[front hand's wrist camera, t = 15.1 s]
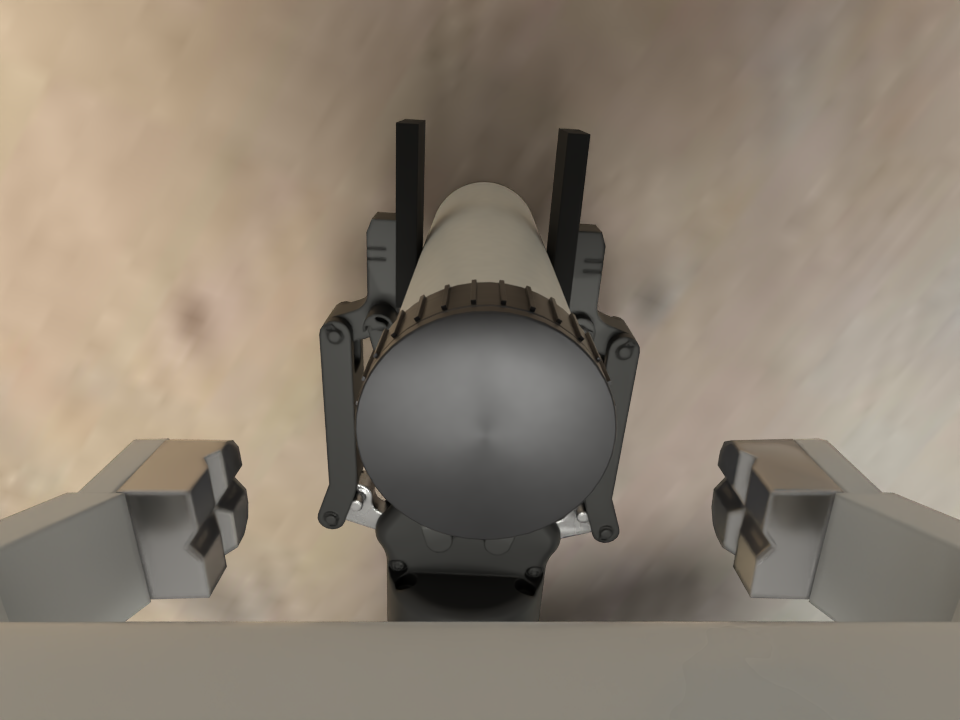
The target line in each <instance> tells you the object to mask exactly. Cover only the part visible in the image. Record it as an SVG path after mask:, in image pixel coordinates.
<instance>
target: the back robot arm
mask: <svg viewBox="0 0 960 720" xmlns="http://www.w3.org/2000/svg"><path fill="white" fill-rule="evenodd" d="M589 141H590V134H588V133H586V132H583V131H581V130H576V129H560V128H559V133H558V143H557V153H556V163H555V173H554V183H553V193H552V203H551V213H550V223H549V233H548V242H547V254H548V257H549V259H550V262H551V264H552V267H553V269H554V272H555V274H556V277H557V279H558V282H559V284H560V287H561V290H562V292H563V295H564V297H565V300H566V302H567V305H568V307H569V310H570V312H571V313H573V314H574V315H575V316H576V319H577V321H578V324H579V326H580V327H581V328H582V330H583V331H584V333H587V332H589V334H590V335H591V338H592V340H593V342H594V344H595V347H596V349H597V351H598V354H599V355H600V357H601V359H602V361H603V364H604V366H605V368H606V370H607V373H608V375H609V377H610V379H611V382H612V385H609V387H610V390H611V392H612V395H613V399H614V401H615V404H616V418H617V431H616V441H615V446H614V450H613V454H612V457H611V459H610V462H609V465H608V467H607V469H606V471H605V473H604V475H603V477H602V479H601V480H600V482H599V483H598V485H597V486H596V487H595V489H594V490H593V491H592V493H591V494H590V495H589V496H588V497H587V498H586V499H585V500H584V501H583V502H582V503H581V504H580V505H579V506H578V507H577V508H575V509H574V510H573V511H572V512H570V513H569V514H568V515H566V516H565V517H563V518H561V519H560V520H558V521H557V522H555V523H553V524H551V525H549V526H547V527H545V528H542V529H540V530H537V531H534V532H531V533H529V534H525V535H521V536H516V537H512V538H504V539H494V540H478V539H466V538H460V537H455V536H450V535H447V534H443V533H440V532H437V531H434V530H432V529H429V528H427V527H425V526H422V525H420V524H419V523H417V522H415V521H413V520H412V519H410V518H408V517H407V516H405V515H404V514H403V513H401V512H400V511H398V510H397V509H396V508H395V507H394V506H392V505H391V504H390V503H389V502H388V501H387V500H385V501H384V500H381V499H380V498H379V497H378V496H377V495H376V492H375V486H374V484H373V482H372V481H371V479H370V477H369V476H368V474H367V472H366V471H363V467H364V465H363V463H362V461H361V458H360V455H359V451H358V447H357V443H356V435H355V414H356V408H357V405H355V404H356V399H357V397H358V394H359V392H360V389H361V387H362V385H363V382H364V381H362V380H361V378H362V376H363V373H364V366H363V339H365V338H368V337H370V340H371V343H372V347H373V350H376V347H377V345H378V342H379V340H380V338H381V335H382V333H383V331H384V329H385V328H386V329H387V330H389V329H390V327H391V326H392V324H393V323H394V322H395V321H396V320H397V317H398V314H399V312H400V309H401V306H402V304H403V301H404V298H405V296H406V293H407V290H408V288H409V285H410V282H411V279H412V277H413V274H414V271H415V269H416V266H417V263H418V261H419V258H420V255H421V252H422V250H423V211H424V162H425V120H411V119H404V120H402V121H399V122H397V123H396V213H386V212H377V214H376V215H375V216H374V217H373V218H372V220H371V222H370V225H369V228H368V230H367V291H368V293H367V296H366V297H365V298H363V299H361V300H357V301H354V302H347V301H346V302H341V303H339V304H338V305H336V307H335V308H334V310H333V311H332V312H331V314H330V315H329V317H328V318H327V320H326V321H325V323H324V325H323V326H322V328H321V329H320V334H319V337H320V352H321V367H322V382H323V397H324V412H325V427H326V442H327V457H328V472H329V486H328V489H327V492H326V494H325V497H324V500H323V502H322V505H321V508H320V510H319V513H318V520H319V523H320V524H321V525H322V526H324V527H326V528H328V529H337V528H339V527H341V526H342V525H343V524H344V522H345V520H348V521H351V522H355V523H358V524H361V525H364V526H367V527H370V528H373V529H375V531H376V536H377V539H378V541H379V543H380V544H381V545H382V547H383V548H384V550H385V552H386V556H387V618H388V622H539V614H540V606H541V598H542V591H543V583H544V575H545V567H546V563H547V561H548V559H549V558H550V556H551V555H552V554H553V553H554V552H555V550H556V549H557V547H558V546H559V543H560V539H561V538H566V537H570V536H575V535H579V534H584V533H588V532H592V535H593V537H594V539H596V540H597V541H599V542H603V543H606V542H611V541H613V540H614V539H616V538H617V536H618V534H619V526H618V522H617V518H616V514H615V509H614V505H613V501H612V496H613V491H614V485H615V480H616V475H617V469H618V464H619V459H620V454H621V448H622V443H623V438H624V433H625V427H626V422H627V417H628V411H629V406H630V401H631V396H632V390H633V385H634V380H635V375H636V369H637V364H638V359H639V354H640V347H639V345H638V343H637V341H636V340H635V338H634V336H633V335H632V333H631V331H630V330H629V328H628V326H627V325H626V323H625V322H624V321H623V320H622V319H621V318H619V317H615V316H614V317H610V316H607V315H605V314H603V313H601V312H599V311H598V310H597V304H598V296H599V289H600V282H601V275H602V267H603V260H604V253H605V243H604V239H603V235H602V232H601V231H600V230H599V228H598V227H597V226H596V225H590V224H580V216H581V208H582V200H583V191H584V183H585V175H586V166H587V158H588V150H589Z"/></svg>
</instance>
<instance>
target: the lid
mask: <svg viewBox="0 0 960 720" xmlns="http://www.w3.org/2000/svg"><path fill="white" fill-rule="evenodd" d="M361 380H362V381H364V382H363V385H362V387H361V389H360V392H359V394H358V397H357V399H356V404H355V405H357V408H356V414H355V435H356V443H357V447H358V451H359V455H360V458H361V461H362V463H363V465H364V468H365V470H366V472H367V474H368V476H369V477H370V479H371V481H372V482H373V484H374V486H375V487H376V488H377V489H378V491H379V492H380V493H381V494H382V496H383V497H384V498H385V499H386V500H387V501H388V502H389V503H390V504H391V505H392V506H394V507H395V508H396V509H397V510H398V511H400V512H401V513H403V514H404V515H405V516H407V517H408V518H410V519H412V520H413V521H415V522H417V523H419V524H420V525H422V526H425V527H427V528H429V529H432V530H434V531H437V532H440V533H443V534H447V535H450V536H455V537H460V538H466V539H478V540H494V539H504V538H512V537H516V536H521V535H525V534H529V533H531V532H534V531H537V530H540V529H542V528H545V527H547V526H549V525H551V524H553V523H555V522H557V521H558V520H560V519H561V518H563V517H565V516H566V515H568V514H569V513H570V512H572V511H573V510H574V509H575V508H577V507H578V506H579V505H580V504H581V503H582V502H583V501H584V500H585V499H586V498H587V497H588V496H589V495H590V494H591V493H592V491H593V490H594V489H595V487H596V486H597V485H598V483H599V482H600V480H601V479H602V477H603V475H604V473H605V471H606V469H607V467H608V465H609V462H610V459H611V457H612V454H613V450H614V446H615V441H616V431H617V418H616V404H615V401H614V399H613V395H612V392H611V390H610V387H609V385H612V382H611V379H610V377H609V375H608V373H607V370H606V368H605V366H604V364H603V361H602V359H601V357H600V355H599V354H598V351H597V349H596V347H595V344H594V342H593V340H592V338H591V335H590V334H589V332H587V333H584V331H583V330H582V328H581V327H580V326H579V324H578V321H577V319H576V316H575V315H574V314H573V313H571V314H570V315H569V314H568V313H567V312H566V311H565V310H564V309H563V308H561V307H560V306H558V305H557V304H556V301H555V299H554V298H553V297H550V299H548V298H546V297H544V296H542V295H540V294H538V293H536V292H534V291H532V290H531V287H529V286H526V288H523V287H519V286H515V285H510V284H506V283H505V282H504V280H499V283H495V282H477V280H476V279H474V280H472V282H471V283H467V284H461V285H456V286H453V287H450V285H449V284H448V285H445V287H444V289H442V290H440V291H438V292H435V293H433V294H431V295H429V296H427V297H426V296H425V295H422V296H420V299H419V302H417V303H415V304H414V305H413V306H411V307H410V308H409V309H408V310H406V311H404V310H401V311H400V312H399V314H398V317H397V320H396V321H395V322H394V323H393V324H392V326H391V327H390V329H389V330H387V329H386V328H385V329H384V331H383V333H382V335H381V338H380V340H379V342H378V345H377V347H376V350H373V352H372V354H371V357H370V359H369V361H368V364H367V366H366V369H365V371H364V373H363V376H362V378H361Z"/></svg>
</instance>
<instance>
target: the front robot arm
mask: <svg viewBox="0 0 960 720" xmlns="http://www.w3.org/2000/svg"><path fill="white" fill-rule="evenodd" d="M241 466H242V461H241V456H240V451H239V447H238V446H237V444H236V443H235V442H234V441H233V440H193V439H168V438H164V439H139V440H133V441H132V442H131V443H130V444H129V445H128V446H127V447H126V448H125V449H124V450H123V451H122V452H120V453H119V454H118V455H117V456H116V457H115V458H114V459H113V460H112V461H111V462H110V463H109V464H108V465H107V466H106V467H104V468H103V469H102V470H101V471H100V472H99V473H98V474H97V475H96V476H95V477H94V478H93V479H92V480H91V481H90V482H88V483H87V484H86V485H85V486H84V487H83V488H82V489H81V490H80V491H79V492H78V493H65V494H63V495H60V496H58V497H55V498H53V499H51V500H48V501H46V502H43V503H41V504H38V505H36V506H33V507H31V508H28V509H26V510H24V511H21V512H19V513H16V514H14V515H11V516H9V517H6V518H4V519H2V520H0V720H960V520H958V519H956V518H953V517H951V516H949V515H946V514H944V513H941V512H939V511H936V510H934V509H931V508H929V507H927V506H924V505H922V504H919V503H917V502H914V501H912V500H909V499H907V498H905V497H902V496H900V495H897V494H895V493H882V492H881V491H880V490H879V489H878V488H877V487H876V486H875V485H874V484H873V483H872V482H871V481H869V480H868V479H867V478H866V477H865V476H864V475H863V474H862V473H861V472H860V471H859V470H858V469H857V468H856V467H855V466H854V465H852V464H851V463H850V462H849V461H848V460H847V459H846V458H845V457H844V456H843V455H842V454H841V453H840V452H839V451H838V450H837V449H835V448H834V447H833V446H832V445H831V444H830V443H829V442H828V441H826V440H823V439H820V438H814V439H770V440H731V441H726V442H724V444H723V446H722V448H721V450H720V455H719V461H718V466H719V468H720V469H721V471H722V472H723V474H724V476H725V478H724V479H723V480H722V481H721V482H720V483H719V484H718V485H717V486H716V487H715V488H714V492H713V500H712V518H713V526H714V529H715V533H716V536H717V538H718V540H719V542H720V544H721V545H722V547H723V548H724V549H726V550H728V551H729V552H731V553H732V554H734V555H735V559H734V565H733V567H734V569H735V571H736V572H737V574H738V576H739V578H740V580H741V581H742V583H743V585H744V587H745V588H746V590H747V592H748V594H749V595H750V597H751V598H782V599H809V602H810V603H811V604H813V605H814V606H815V607H817V608H818V609H819V610H820V611H822V612H823V613H824V614H826V615H827V616H828V617H830V618H831V619H832V620H834V621H835V622H125V621H126V620H128V619H129V618H130V617H132V616H133V615H134V614H136V613H137V612H138V611H140V610H141V609H142V608H144V607H145V606H146V605H148V604H149V603H150V602H151V600H150V599H177V598H209V597H210V596H211V594H212V592H213V590H214V588H215V587H216V585H217V583H218V581H219V580H220V578H221V576H222V574H223V572H224V571H225V569H226V567H227V565H226V559H225V555H226V554H228V553H229V552H231V551H232V550H234V549H235V548H237V547H238V545H239V543H240V542H241V540H242V538H243V536H244V533H245V528H246V524H247V520H248V498H247V491H246V488H245V487H244V486H243V485H242V484H241V483H240V482H239V481H238V480H237V479H236V478H235V476H236V474H237V472H238V471H239V469H240V468H241Z"/></svg>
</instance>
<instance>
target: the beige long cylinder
mask: <svg viewBox="0 0 960 720" xmlns="http://www.w3.org/2000/svg"><path fill="white" fill-rule="evenodd" d="M474 279H476V280H477V282H495V283H499V280H504V282H505V283H506V284H510V285H515V286H519V287H523V288H526V286H529V287H531V290H532V291H534V292H536V293H538V294H540V295H542V296H544V297H546V298H548V299H550V297H553V298H554V299H555V301H556V304H557V305H558V306H560V307H561V308H563V309H564V310H565V311H566V312H567V313H568V314H569V315H570V314H571V312H570V310H569V307H568V305H567V302H566V300H565V297H564V295H563V292H562V290H561V287H560V284H559V282H558V279H557V277H556V274H555V272H554V269H553V267H552V264H551V262H550V259H549V257H548V254H547V252H546V249H545V247H544V244H543V242H542V239H541V237H540V234H539V232H538V229H537V226H536V224H535V221H534V219H533V216H532V214H531V212H530V210H529V208H528V206H527V205H526V203H525V202H524V201H523V199H522V198H521V197H520V196H519V195H517V194H516V193H515V192H513V191H512V190H510V189H509V188H507V187H505V186H502V185H500V184H496V183H490V182H477V183H472V184H468V185H465V186H463V187H461V188H459V189H457V190H455V191H454V192H452V193H451V194H450V195H449V196H448V197H447V198H446V199H445V200H444V201H443V202H442V204H441V205H440V207H439V208H438V210H437V212H436V215H435V217H434V220H433V223H432V225H431V228H430V231H429V234H428V236H427V239H426V242H425V244H424V247H423V250H422V252H421V255H420V258H419V261H418V263H417V266H416V269H415V271H414V274H413V277H412V279H411V282H410V285H409V288H408V290H407V293H406V296H405V298H404V301H403V304H402V306H401V309H400V311H401V310H404V311H406V310H408V309H409V308H410V307H411V306H413V305H414V304H415V303H417V302H419V299H420V296H422V295H425V296H426V297H427V296H429V295H431V294H433V293H435V292H438V291H440V290H442V289H444V287H445V285H448V284H449V285H450V287H453V286H456V285H461V284H467V283H471V282H472V280H474Z"/></svg>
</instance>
